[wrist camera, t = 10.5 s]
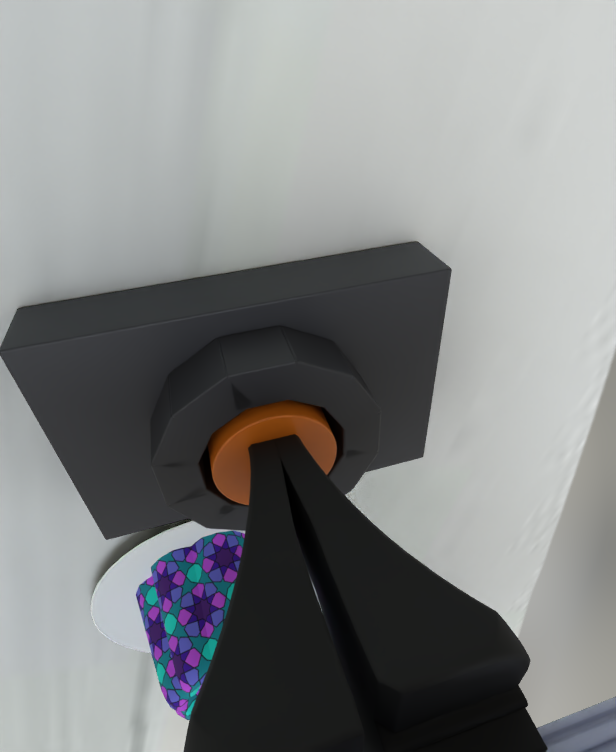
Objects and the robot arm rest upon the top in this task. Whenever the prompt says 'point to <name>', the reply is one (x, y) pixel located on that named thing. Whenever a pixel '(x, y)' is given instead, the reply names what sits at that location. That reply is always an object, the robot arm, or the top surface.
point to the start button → (262, 426)
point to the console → (230, 375)
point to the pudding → (172, 603)
